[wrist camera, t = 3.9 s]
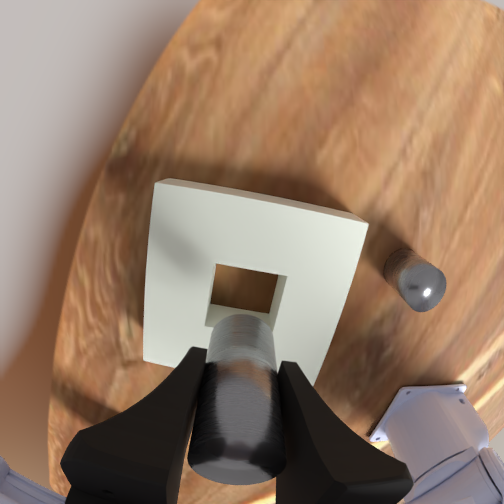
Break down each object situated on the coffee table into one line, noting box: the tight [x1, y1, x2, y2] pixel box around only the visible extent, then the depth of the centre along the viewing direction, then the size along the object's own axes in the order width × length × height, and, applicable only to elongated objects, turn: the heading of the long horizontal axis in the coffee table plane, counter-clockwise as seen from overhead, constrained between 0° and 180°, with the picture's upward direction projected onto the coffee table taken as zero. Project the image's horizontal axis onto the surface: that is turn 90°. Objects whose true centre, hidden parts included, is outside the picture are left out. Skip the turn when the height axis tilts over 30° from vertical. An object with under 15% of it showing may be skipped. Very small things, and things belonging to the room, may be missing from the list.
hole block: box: [143, 178, 369, 386], centre depth 19 cm, size 12×12×3 cm
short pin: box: [384, 248, 446, 312], centre depth 19 cm, size 3×3×4 cm
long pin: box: [187, 314, 287, 485], centre depth 11 cm, size 3×3×7 cm
